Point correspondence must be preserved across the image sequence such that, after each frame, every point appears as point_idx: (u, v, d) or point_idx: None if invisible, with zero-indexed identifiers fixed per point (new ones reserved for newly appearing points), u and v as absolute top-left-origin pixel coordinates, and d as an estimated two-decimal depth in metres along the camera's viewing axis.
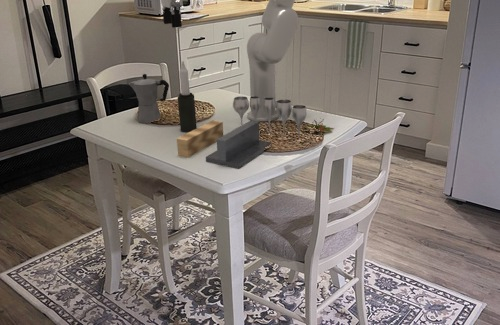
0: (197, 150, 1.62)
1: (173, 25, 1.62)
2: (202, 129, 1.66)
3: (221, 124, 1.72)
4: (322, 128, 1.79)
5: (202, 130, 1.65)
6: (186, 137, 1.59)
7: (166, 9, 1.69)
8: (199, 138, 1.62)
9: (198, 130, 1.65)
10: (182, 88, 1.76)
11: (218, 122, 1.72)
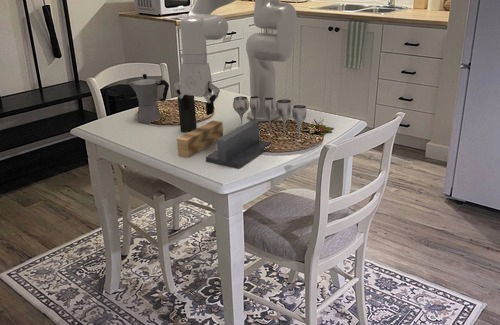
0: (197, 150, 1.62)
1: None
2: (202, 129, 1.66)
3: (221, 124, 1.72)
4: (322, 128, 1.79)
5: (202, 130, 1.65)
6: (186, 137, 1.59)
7: None
8: (199, 138, 1.62)
9: (198, 130, 1.65)
10: None
11: (218, 122, 1.72)
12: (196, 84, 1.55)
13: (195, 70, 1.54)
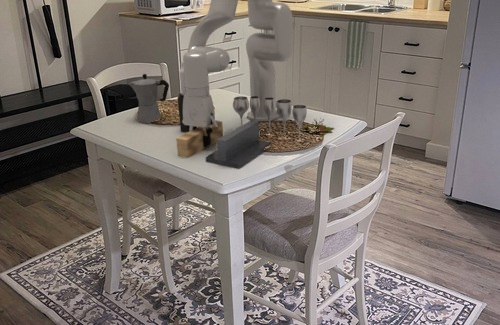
0: (197, 150, 1.62)
1: None
2: (201, 128, 1.66)
3: (221, 124, 1.72)
4: (322, 128, 1.79)
5: (202, 130, 1.64)
6: (186, 137, 1.59)
7: None
8: (199, 138, 1.62)
9: (197, 130, 1.65)
10: (182, 88, 1.76)
11: (218, 122, 1.71)
12: (199, 116, 1.60)
13: (198, 103, 1.58)
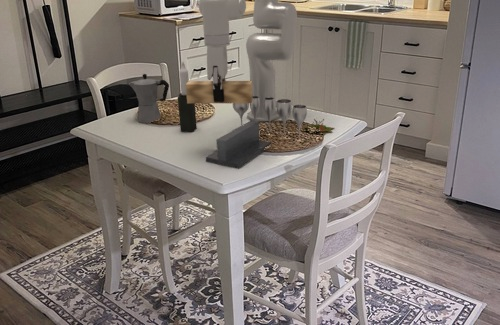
0: (202, 100, 1.55)
1: None
2: None
3: (248, 86, 1.52)
4: (322, 128, 1.79)
5: None
6: (193, 83, 1.55)
7: None
8: (206, 89, 1.54)
9: None
10: (182, 88, 1.76)
11: (247, 83, 1.52)
12: None
13: None
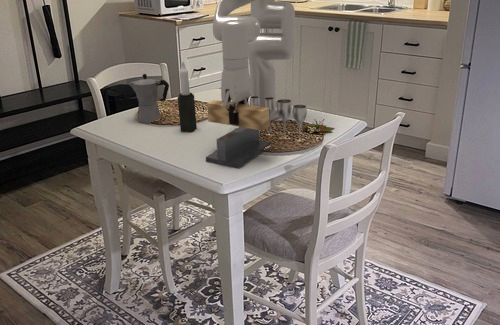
0: (220, 121, 1.57)
1: None
2: (239, 105, 1.53)
3: (260, 113, 1.48)
4: (322, 128, 1.79)
5: None
6: (215, 102, 1.57)
7: None
8: (224, 110, 1.55)
9: None
10: (182, 88, 1.76)
11: (260, 110, 1.49)
12: None
13: None
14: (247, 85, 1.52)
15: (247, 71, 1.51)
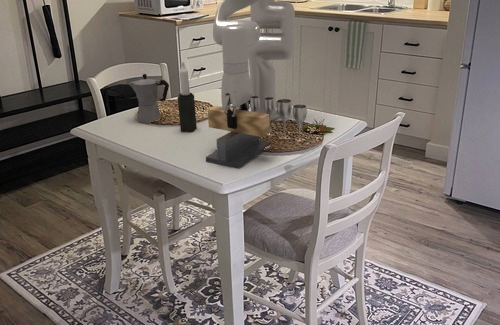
0: (221, 127, 1.58)
1: None
2: (239, 112, 1.54)
3: (260, 120, 1.49)
4: (323, 128, 1.79)
5: None
6: (215, 108, 1.58)
7: None
8: (224, 116, 1.55)
9: None
10: (182, 88, 1.76)
11: (260, 116, 1.50)
12: None
13: None
14: (247, 89, 1.53)
15: (247, 75, 1.51)
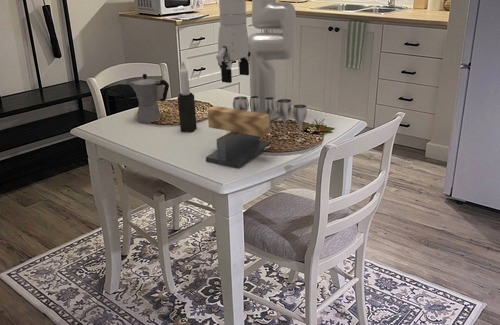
0: (221, 127, 1.58)
1: None
2: (239, 112, 1.54)
3: (260, 120, 1.49)
4: (323, 128, 1.79)
5: (235, 112, 1.54)
6: (215, 108, 1.58)
7: None
8: (224, 116, 1.55)
9: (235, 111, 1.55)
10: (182, 88, 1.76)
11: (260, 116, 1.50)
12: None
13: None
14: (245, 43, 1.48)
15: (245, 28, 1.46)
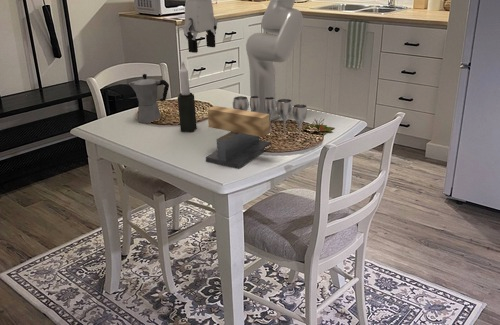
0: (221, 127, 1.58)
1: None
2: (239, 112, 1.54)
3: (260, 120, 1.49)
4: (323, 128, 1.79)
5: (235, 112, 1.54)
6: (215, 108, 1.58)
7: None
8: (224, 116, 1.55)
9: (235, 111, 1.55)
10: (182, 88, 1.76)
11: (260, 116, 1.50)
12: None
13: None
14: (210, 16, 1.60)
15: (210, 2, 1.59)
